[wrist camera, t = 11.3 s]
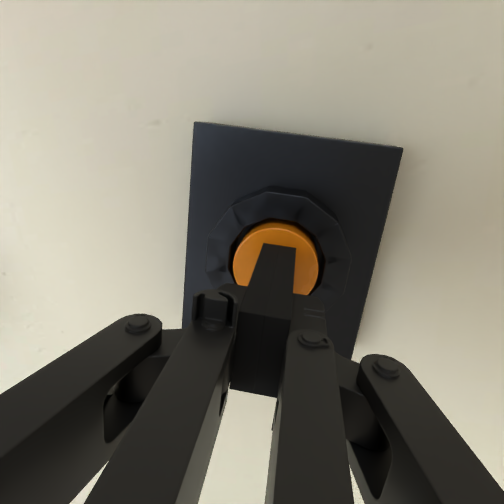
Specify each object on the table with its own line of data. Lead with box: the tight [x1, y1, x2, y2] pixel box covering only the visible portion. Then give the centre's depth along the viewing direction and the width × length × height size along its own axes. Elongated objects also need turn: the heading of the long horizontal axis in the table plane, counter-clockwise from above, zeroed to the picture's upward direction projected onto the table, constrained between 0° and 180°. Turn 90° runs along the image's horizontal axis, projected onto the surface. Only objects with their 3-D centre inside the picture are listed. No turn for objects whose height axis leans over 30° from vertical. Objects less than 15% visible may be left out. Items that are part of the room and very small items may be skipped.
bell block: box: [182, 122, 403, 360], centre depth 19 cm, size 12×10×4 cm
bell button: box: [233, 218, 318, 295], centre depth 18 cm, size 4×4×2 cm
